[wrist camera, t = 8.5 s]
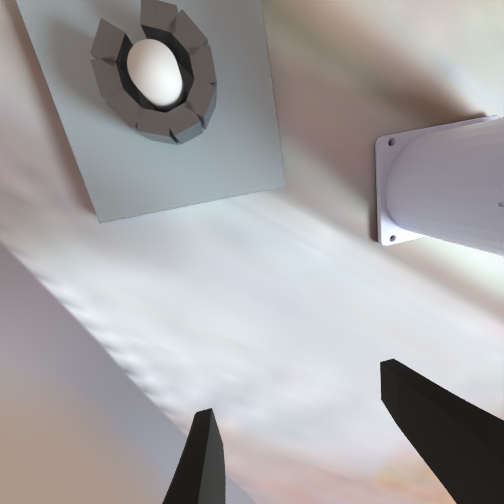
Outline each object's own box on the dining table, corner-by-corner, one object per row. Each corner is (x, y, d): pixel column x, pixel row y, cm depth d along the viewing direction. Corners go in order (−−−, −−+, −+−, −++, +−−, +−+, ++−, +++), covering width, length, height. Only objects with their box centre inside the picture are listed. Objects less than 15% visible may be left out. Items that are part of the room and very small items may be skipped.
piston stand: (250, -33, 14) (271, -151, 9) (281, 185, 17) (308, 188, 12) (25, -6, 13) (-94, -123, 8) (107, 220, 16) (61, 237, 11)
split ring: (203, 30, 13) (200, -11, 10) (223, 138, 15) (225, 128, 12) (104, 41, 13) (72, 2, 10) (135, 151, 14) (116, 145, 12)
